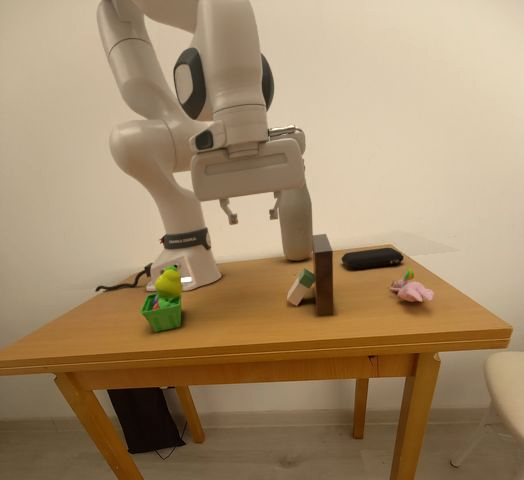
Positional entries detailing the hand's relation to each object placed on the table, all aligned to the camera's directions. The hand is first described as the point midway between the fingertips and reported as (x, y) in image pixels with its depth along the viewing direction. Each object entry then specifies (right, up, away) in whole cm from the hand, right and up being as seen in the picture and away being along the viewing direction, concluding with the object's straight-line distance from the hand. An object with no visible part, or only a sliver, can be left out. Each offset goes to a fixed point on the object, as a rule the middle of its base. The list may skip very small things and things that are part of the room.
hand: (253, 221), depth 57 cm
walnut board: (+14, -14, +6) cm, 21 cm away
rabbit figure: (+30, -15, +1) cm, 34 cm away
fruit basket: (-18, -18, +8) cm, 27 cm away
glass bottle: (+13, +4, +38) cm, 40 cm away
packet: (+10, -14, +7) cm, 19 cm away
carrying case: (+31, -2, +24) cm, 39 cm away
